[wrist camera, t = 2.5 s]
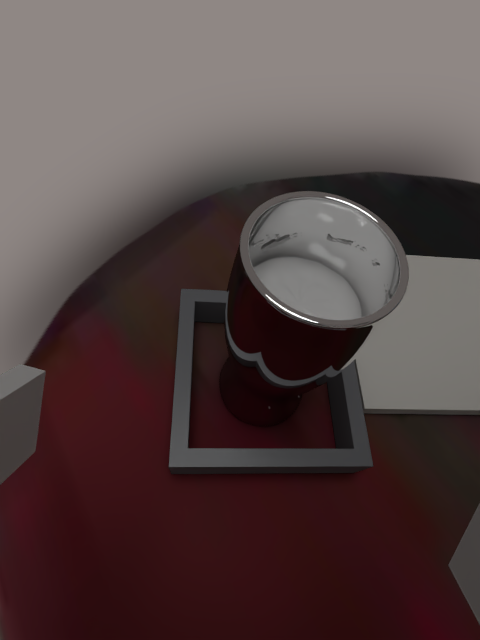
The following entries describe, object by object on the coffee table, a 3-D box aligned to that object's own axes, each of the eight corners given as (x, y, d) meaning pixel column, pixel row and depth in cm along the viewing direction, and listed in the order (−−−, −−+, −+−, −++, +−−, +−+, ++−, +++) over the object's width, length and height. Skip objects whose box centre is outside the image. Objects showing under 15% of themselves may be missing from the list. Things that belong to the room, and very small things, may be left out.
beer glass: (192, 380, 27) (194, 238, 14) (260, 325, 30) (315, 164, 17) (261, 455, 25) (340, 373, 12) (326, 388, 28) (448, 262, 15)
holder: (329, 316, 31) (342, 296, 28) (354, 473, 25) (373, 466, 22) (182, 310, 29) (181, 288, 27) (171, 473, 23) (168, 466, 21)
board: (493, 269, 35) (502, 261, 34) (557, 415, 29) (571, 411, 28) (331, 259, 34) (335, 250, 33) (357, 413, 27) (364, 408, 26)
